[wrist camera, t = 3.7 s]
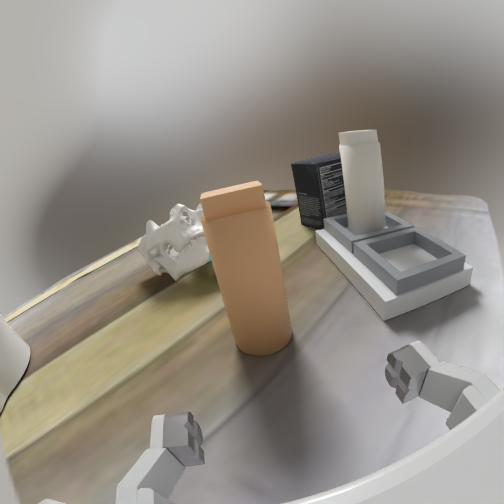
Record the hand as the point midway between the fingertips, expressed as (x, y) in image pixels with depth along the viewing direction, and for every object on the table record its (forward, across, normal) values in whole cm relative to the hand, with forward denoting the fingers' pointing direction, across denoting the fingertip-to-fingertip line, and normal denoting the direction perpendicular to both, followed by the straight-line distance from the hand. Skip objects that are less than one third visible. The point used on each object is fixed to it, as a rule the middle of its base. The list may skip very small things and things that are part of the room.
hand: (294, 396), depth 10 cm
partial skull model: (+30, +6, +7) cm, 31 cm away
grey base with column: (+18, -16, +7) cm, 25 cm away
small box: (+36, -17, +7) cm, 40 cm away
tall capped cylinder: (+12, 0, +7) cm, 14 cm away
